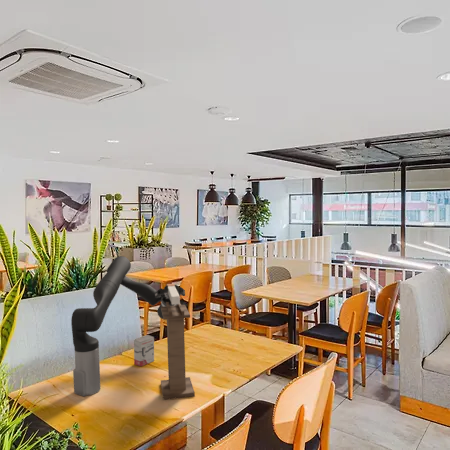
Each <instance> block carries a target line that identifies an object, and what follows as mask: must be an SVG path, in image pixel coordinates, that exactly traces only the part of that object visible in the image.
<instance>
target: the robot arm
mask: <svg viewBox="0 0 450 450" xmlns="http://www.w3.org/2000/svg"><path fill="white" fill-rule="evenodd" d="M131 267H132V265H131V261H130V259H129V258H128V257H126V256H123V255H120V256H116V257H115V258H114V259H113V260H112V262H111V263H110V265H108V267H107V268H106V274H104V276H103V277H102V278H101V279H100V280H99V282H98V283H97V284H96V286H95V288H94V289H93V294H92V296H93V299H94V301H95V303H96V306H95V307H92V308H91V307H90V308H89V307H88V308H87V307H86V308H83V307H82V308H81V307H79V308H76V309H74V311H72V314H71V335H72V344H73V349H74V367H75V368H73V370H72V375H73V377H72V378H73V393H74V394H76V395H78V396H81V397H87V396H91V395H93V394H96V393H99V392H100V390H101V370H100V369H101V368H100V367H101V366H100V342H99V340H98V338H96V337H94V336H92V335H89V333H93V332H97V331H99V330H100V328H101V326H102V324H103V322H104V319H105V317H106V314H107V311H108V309H109V307H110V305H111V303H112V301H113V300H114V299H115V297H116V295H117V293H118V290H119V288H120V286H122V287H125V288H126V289H129V290H130V291H132V292H133V293H135V294H137V295H138V296H139V297H140V298H142V299H143V300H144V301H146V302H147V303H148V304H149V305H151V306H155V305H157V304H158V303H159V302H160V305H159V307H158V308H157V315H158V317H159V318H160V319H161V320H163V316H162V312H161V307H163V306H166V302H169V305H170V306H176V305H177V304H173V305H172V303H171V301H170V298H169V295H168V293H167V292H168V285H167V284H166V285H165V286H164V288H162V287H161V288H159V289H156V288H154V287H152V286H151V285H149V284H147V283H143V282H140V281H136V280H132V279H130V278H129V277H128V276H127V274H128V273H129V271H130V270H131V269H132V268H131ZM174 285H175V288H176V290H177V292H178V294H179V296H182V297H185V296H186V291H185V289H184V288H183V287H182V286H180V287H179V285H177V284H174Z"/></svg>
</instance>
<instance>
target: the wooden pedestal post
mask: <svg viewBox="0 0 450 450" xmlns="http://www.w3.org/2000/svg"><path fill="white" fill-rule="evenodd" d="M161 312H162V316H163V319H162V320H163V321H164V320H165V321H166V334H167V335H166V337H167V338H166V339H167V343H166V344H167V367H168V368H167V369H168V370H167V371H168V372H167V373H168V379H163V380H162V379H161V380H160V387H161V393H162V401H167V400H176V399H183V398H184V399H185V398H191V397H195V393H196V392H195V390H194V387H193V384H192V380H191V376H188V377H187V376H186V351H185V348H186V347H185V320H184V319H186V318H188V319H189V318H191V314H190V312H189V310H188V308H187V306H186V304H181V302H180V304H177V305H176V306H170V305H169V302H166V306H163V307H161Z"/></svg>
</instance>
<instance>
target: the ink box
mask: <svg viewBox="0 0 450 450" xmlns="http://www.w3.org/2000/svg"><path fill="white" fill-rule="evenodd" d="M133 361H134V362H133V364H134V365H135V366H139V367H144V366H145V365H148V364H150V363H153V362H154V361H155V337H154V336H152V335H149V334H146V335H144V336H140V337H136V338H134V340H133Z"/></svg>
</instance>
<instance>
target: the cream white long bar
mask: <svg viewBox="0 0 450 450" xmlns="http://www.w3.org/2000/svg"><path fill="white" fill-rule="evenodd" d="M166 285H168V292H167V293H168V295H169V298H170V301H171V303H172V305H173V304H180V303H181V300H180V299H181V298H180V296H181V295H180V296H179V294H178V292H177V290H176V288H175V285H176V284H175V283H167V284H166Z"/></svg>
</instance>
